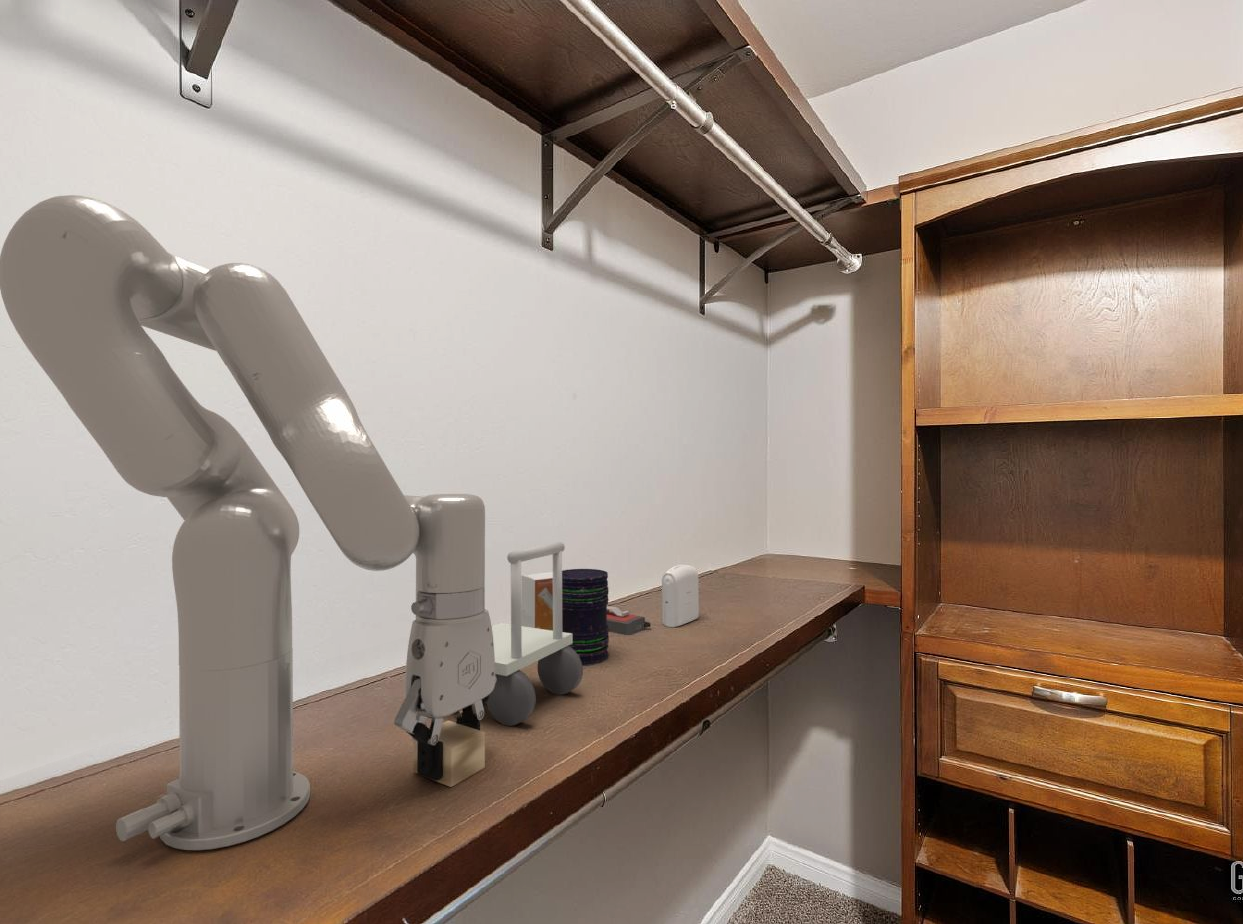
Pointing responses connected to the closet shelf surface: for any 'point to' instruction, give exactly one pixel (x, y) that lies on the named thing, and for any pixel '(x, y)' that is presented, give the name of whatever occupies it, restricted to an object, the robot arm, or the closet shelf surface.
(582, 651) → the dark blue cylinder
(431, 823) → the closet shelf surface
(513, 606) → the trolley
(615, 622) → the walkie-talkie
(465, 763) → the block
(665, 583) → the photo printer
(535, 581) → the small box
